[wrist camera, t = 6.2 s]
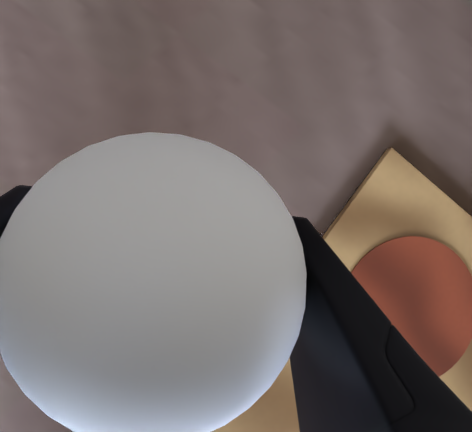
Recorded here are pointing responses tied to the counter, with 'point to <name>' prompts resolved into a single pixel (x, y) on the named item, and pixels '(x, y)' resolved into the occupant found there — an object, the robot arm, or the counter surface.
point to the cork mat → (397, 279)
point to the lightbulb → (149, 287)
